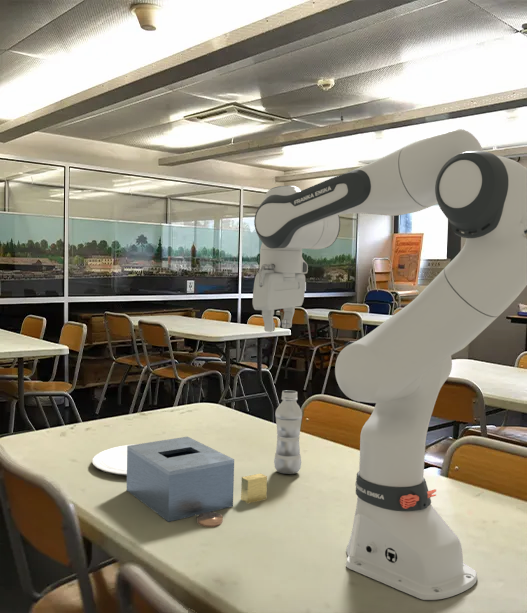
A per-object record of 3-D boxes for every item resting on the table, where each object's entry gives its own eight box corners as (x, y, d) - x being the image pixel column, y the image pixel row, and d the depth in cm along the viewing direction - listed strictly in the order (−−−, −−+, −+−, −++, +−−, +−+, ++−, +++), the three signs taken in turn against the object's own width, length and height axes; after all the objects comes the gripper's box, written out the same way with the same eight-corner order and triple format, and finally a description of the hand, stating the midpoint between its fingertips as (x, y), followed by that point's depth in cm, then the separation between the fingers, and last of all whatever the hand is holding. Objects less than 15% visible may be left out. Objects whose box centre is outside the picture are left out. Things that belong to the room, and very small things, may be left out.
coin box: (233, 506, 129) (234, 459, 129) (168, 521, 121) (169, 471, 120) (186, 478, 146) (187, 436, 145) (126, 490, 137) (127, 445, 136)
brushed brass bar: (266, 499, 134) (267, 476, 134) (247, 503, 131) (247, 480, 131) (259, 495, 136) (260, 473, 136) (241, 500, 133) (241, 477, 133)
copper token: (227, 524, 121) (227, 518, 121) (205, 530, 118) (205, 524, 118) (214, 515, 125) (214, 510, 125) (192, 521, 122) (192, 515, 122)
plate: (122, 490, 138) (123, 481, 138) (74, 461, 157) (74, 454, 156) (213, 468, 154) (213, 460, 154) (159, 445, 173) (159, 438, 173)
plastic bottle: (299, 478, 148) (301, 395, 147) (271, 475, 149) (273, 393, 148) (302, 469, 154) (305, 390, 153) (276, 467, 156) (278, 388, 154)
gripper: (275, 264, 120) (272, 335, 121) (310, 265, 139) (308, 326, 140) (245, 263, 123) (243, 332, 124) (284, 264, 142) (282, 325, 142)
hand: (278, 329), depth 132 cm, fingers open, 8 cm apart
